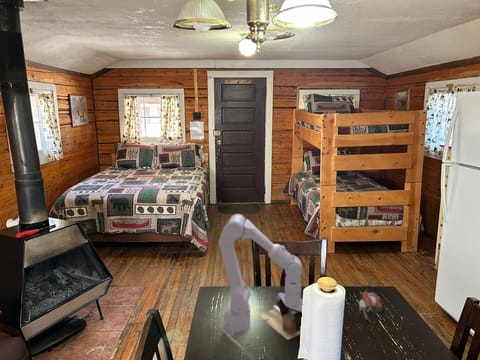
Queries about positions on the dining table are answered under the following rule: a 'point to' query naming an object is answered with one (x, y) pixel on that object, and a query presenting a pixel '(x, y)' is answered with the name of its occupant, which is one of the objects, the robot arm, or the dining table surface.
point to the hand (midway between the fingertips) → (291, 324)
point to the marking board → (276, 322)
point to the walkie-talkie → (370, 303)
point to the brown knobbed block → (289, 323)
